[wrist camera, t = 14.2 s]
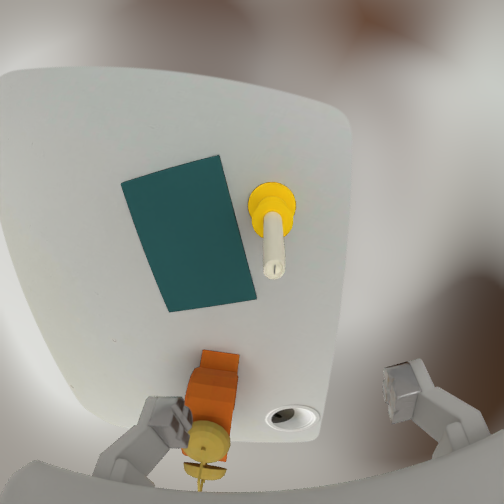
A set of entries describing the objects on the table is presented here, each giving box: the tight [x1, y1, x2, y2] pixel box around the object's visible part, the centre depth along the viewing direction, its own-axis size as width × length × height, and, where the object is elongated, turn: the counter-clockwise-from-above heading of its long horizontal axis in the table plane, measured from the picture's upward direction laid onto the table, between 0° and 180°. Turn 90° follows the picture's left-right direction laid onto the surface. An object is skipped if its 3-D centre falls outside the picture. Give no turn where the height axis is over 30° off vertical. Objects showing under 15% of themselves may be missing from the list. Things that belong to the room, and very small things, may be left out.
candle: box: [248, 182, 296, 279], centre depth 27 cm, size 5×5×16 cm
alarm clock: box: [181, 350, 239, 492], centre depth 37 cm, size 13×6×20 cm, turn 173°
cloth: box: [121, 155, 257, 312], centre depth 37 cm, size 18×12×1 cm, turn 13°
